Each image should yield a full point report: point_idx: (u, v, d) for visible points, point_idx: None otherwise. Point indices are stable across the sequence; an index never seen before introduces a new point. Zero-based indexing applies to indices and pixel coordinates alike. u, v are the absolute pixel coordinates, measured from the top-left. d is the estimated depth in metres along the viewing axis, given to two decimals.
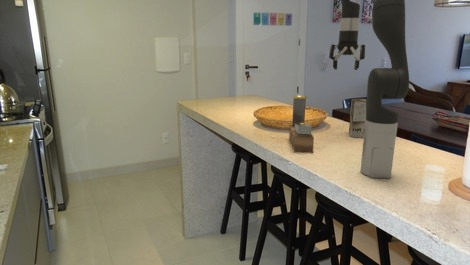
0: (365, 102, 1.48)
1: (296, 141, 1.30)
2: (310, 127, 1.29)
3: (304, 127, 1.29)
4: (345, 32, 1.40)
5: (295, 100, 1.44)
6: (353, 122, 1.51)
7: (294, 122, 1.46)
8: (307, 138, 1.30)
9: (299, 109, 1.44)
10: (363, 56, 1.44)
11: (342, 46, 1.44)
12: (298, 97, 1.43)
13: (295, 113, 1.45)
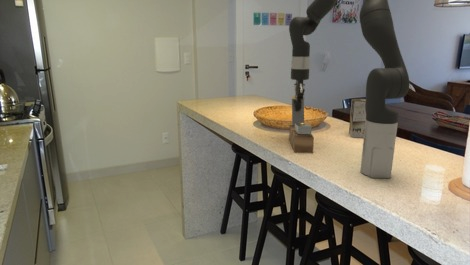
0: None
1: (296, 141, 1.30)
2: (310, 127, 1.29)
3: (304, 127, 1.29)
4: (308, 70, 1.41)
5: (293, 100, 1.49)
6: (353, 122, 1.51)
7: (294, 121, 1.47)
8: (307, 138, 1.30)
9: None
10: None
11: (302, 84, 1.42)
12: None
13: (294, 112, 1.47)
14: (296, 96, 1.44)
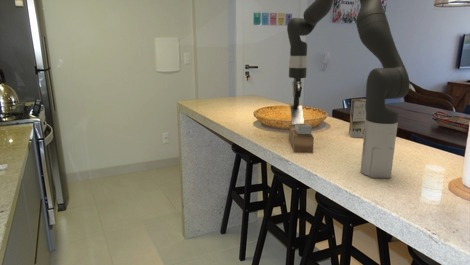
0: (365, 102, 1.48)
1: (296, 141, 1.30)
2: (310, 127, 1.29)
3: (304, 127, 1.29)
4: (305, 69, 1.47)
5: (292, 106, 1.54)
6: (353, 122, 1.51)
7: (294, 122, 1.48)
8: (307, 138, 1.30)
9: (297, 112, 1.51)
10: None
11: None
12: None
13: (294, 115, 1.50)
14: (294, 94, 1.51)
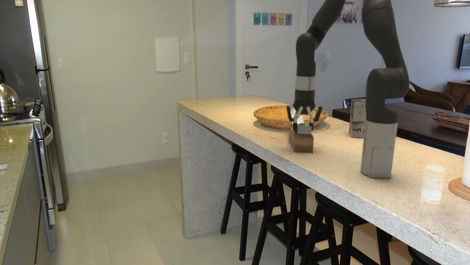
0: (365, 102, 1.48)
1: (296, 141, 1.30)
2: (310, 127, 1.29)
3: (304, 127, 1.29)
4: None
5: (292, 108, 1.54)
6: (353, 122, 1.51)
7: None
8: (307, 138, 1.30)
9: None
10: None
11: None
12: None
13: None
14: (312, 118, 1.32)
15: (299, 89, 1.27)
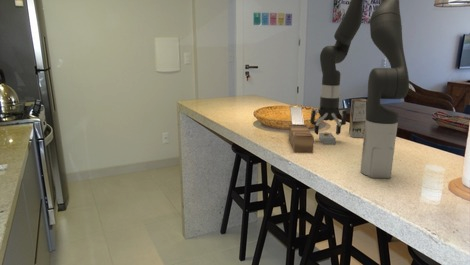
0: (365, 102, 1.48)
1: (296, 141, 1.30)
2: (334, 139, 1.41)
3: (328, 139, 1.41)
4: None
5: (292, 108, 1.54)
6: (353, 122, 1.51)
7: (293, 122, 1.48)
8: (307, 138, 1.30)
9: (297, 113, 1.52)
10: None
11: None
12: (294, 106, 1.55)
13: (294, 116, 1.51)
14: None
15: (325, 97, 1.39)
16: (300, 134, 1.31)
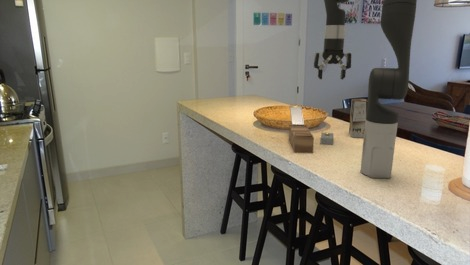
0: (365, 102, 1.48)
1: (296, 141, 1.30)
2: (332, 139, 1.41)
3: (326, 139, 1.41)
4: None
5: (292, 108, 1.54)
6: (353, 122, 1.51)
7: (293, 122, 1.48)
8: (307, 138, 1.30)
9: (297, 113, 1.52)
10: None
11: None
12: (294, 106, 1.55)
13: (294, 116, 1.51)
14: (343, 65, 1.37)
15: (329, 38, 1.33)
16: (300, 134, 1.31)
